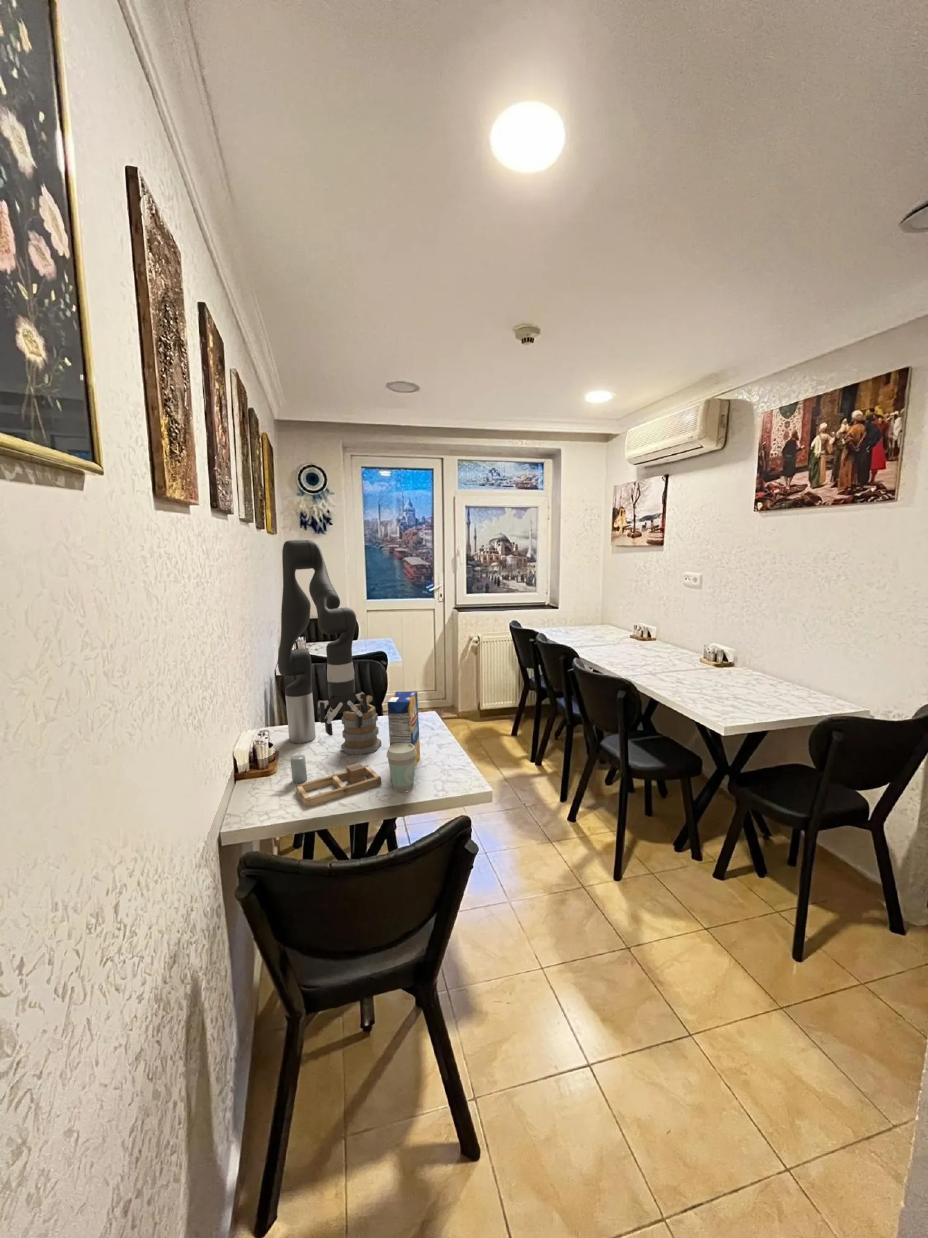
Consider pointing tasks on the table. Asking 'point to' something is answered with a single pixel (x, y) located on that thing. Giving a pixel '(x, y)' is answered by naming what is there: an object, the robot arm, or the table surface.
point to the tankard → (360, 731)
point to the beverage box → (404, 720)
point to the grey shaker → (298, 769)
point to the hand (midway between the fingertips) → (344, 731)
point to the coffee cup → (402, 766)
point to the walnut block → (355, 773)
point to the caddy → (337, 781)
